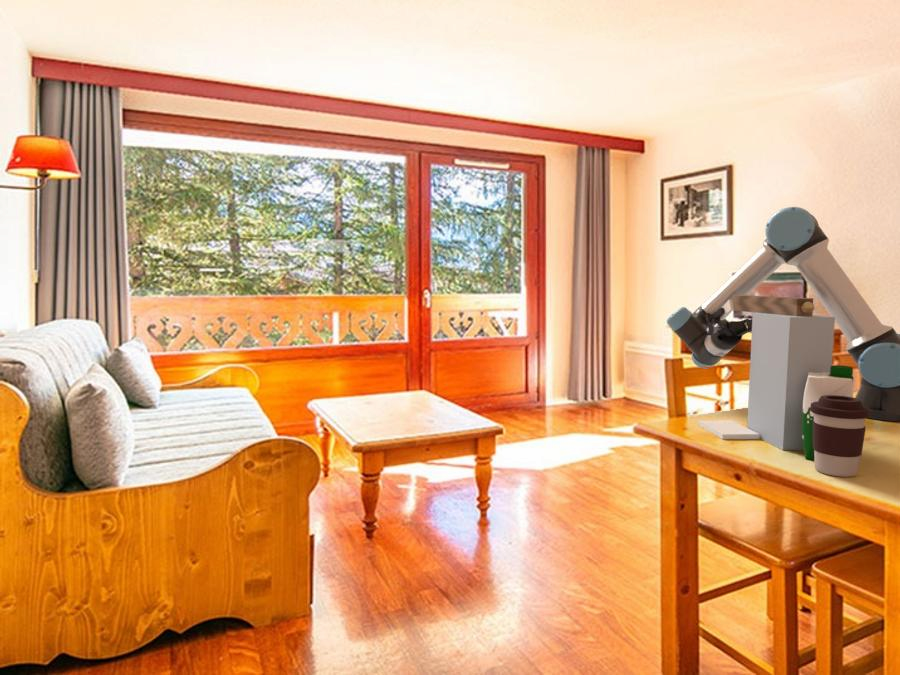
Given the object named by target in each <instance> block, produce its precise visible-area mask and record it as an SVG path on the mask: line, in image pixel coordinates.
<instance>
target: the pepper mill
mask: <svg viewBox="0 0 900 675" xmlns="http://www.w3.org/2000/svg"><path fill="white" fill-rule="evenodd" d="M733 307H734V309H733V310H732V311H734V312H735V311H736V312H744V313H745V312H747V313H766V314H777V315H787V316H812V315H814V314H813V313H814V310H815V304H814V298H811V297H790V296H775V295H773V296H772V295H752V294H749V295H733Z"/></svg>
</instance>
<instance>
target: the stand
mask: <svg viewBox="0 0 900 675" xmlns="http://www.w3.org/2000/svg"><path fill="white" fill-rule="evenodd" d="M751 319H752V333H751V337H750V338H751V343H750V358H749V359H750V363H749V382H748V400H747V401H748V404H747V421H746V422H747V424H746V428H748V429H750V430H752V431H754V432H756V433H758V434H760V439H759V440H762V441H764V442H765V443H768V444H770V445H772V446H773V447H776V448H777V447H778V449H779V448H780V450H781V449H782V450H781V451H804V445H803V439H802V410H803V397H804V390H805V385H806V381H807V376H808V372H813V373H822V372H825V373H830V367H831V366H832V365H833V356H834V355H833V352H834V339H835V337H834V336H835V324H836V323H835V317H831V316H830V315H829V316H827V315H817V314H812V316H787V315H777V314H766V313H755V312H752V318H751Z"/></svg>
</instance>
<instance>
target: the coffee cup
mask: <svg viewBox="0 0 900 675" xmlns="http://www.w3.org/2000/svg"><path fill="white" fill-rule="evenodd" d="M810 410H811V412H813V413H814V420H813V449H814V459H815V460H814V469H815V470H816V471H817V472H819V473H821V474H823V475H828V476H833V477H838V478H839V477H840V478H851V477H854V476H857V475H858V472H859V467H860V466H859V465H860V459H861V456H862V453H863V448H864V440H865V435H866V419H870V418H869V416H870V409H869V408H867V407H865V406H863V405H862V402H861V400H859V399H857V398H855V397H854V396H853V397H847V396H837V395H825V396H821V397H820V398H819V400H818V402H813V403H811V408H810Z"/></svg>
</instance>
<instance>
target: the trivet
mask: <svg viewBox="0 0 900 675" xmlns="http://www.w3.org/2000/svg"><path fill="white" fill-rule="evenodd" d="M698 425H699V426H698ZM697 426H698V427H700V426H701V427H700V428H702V429H703V430H705V431H707V432H709V433H711V434H712V435H714V436H715V437H718V438H719V439H721V440H761V439H760V434H758V433H756V432H754V431H752V430H750V429H748V428H747V426H744V425H742V424H739V423H738V422H736V421H734V420H731V419H730V420H728V419H727V420H697Z"/></svg>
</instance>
